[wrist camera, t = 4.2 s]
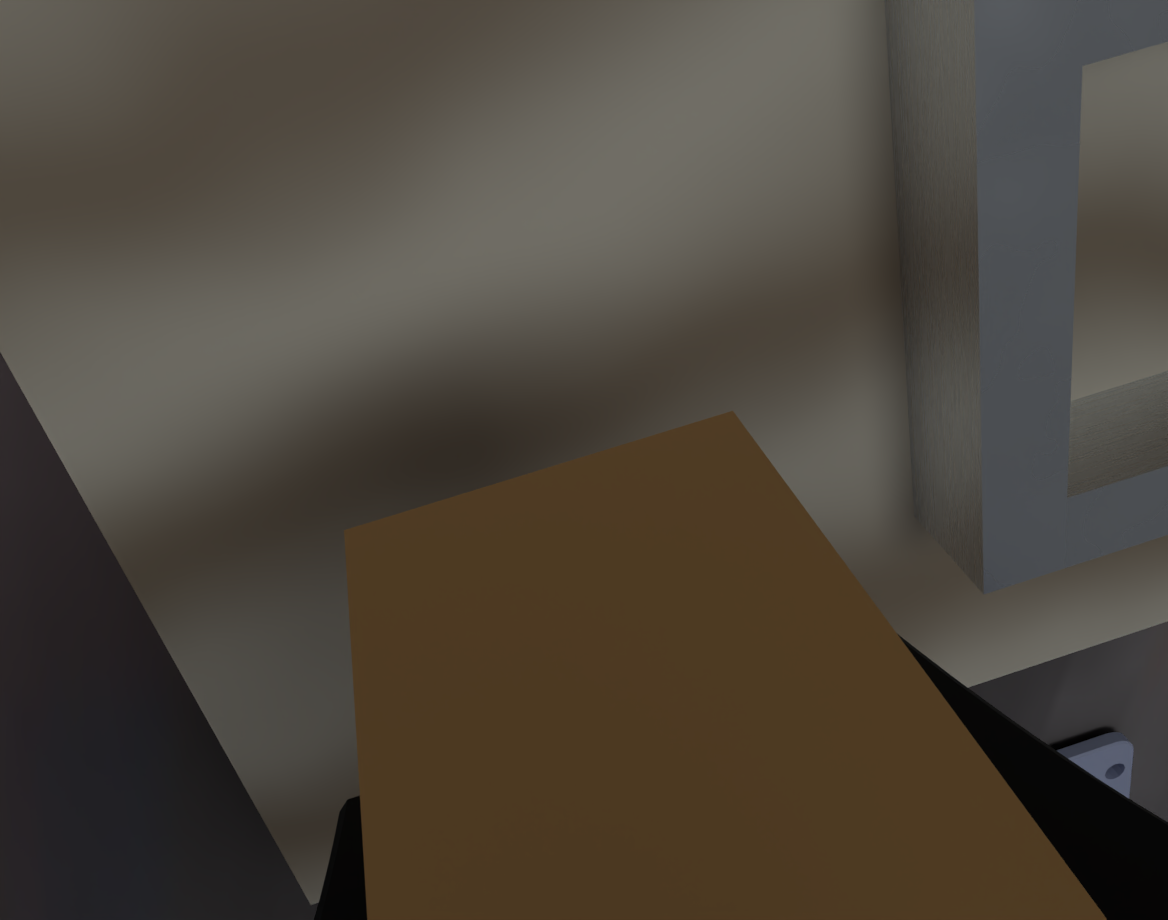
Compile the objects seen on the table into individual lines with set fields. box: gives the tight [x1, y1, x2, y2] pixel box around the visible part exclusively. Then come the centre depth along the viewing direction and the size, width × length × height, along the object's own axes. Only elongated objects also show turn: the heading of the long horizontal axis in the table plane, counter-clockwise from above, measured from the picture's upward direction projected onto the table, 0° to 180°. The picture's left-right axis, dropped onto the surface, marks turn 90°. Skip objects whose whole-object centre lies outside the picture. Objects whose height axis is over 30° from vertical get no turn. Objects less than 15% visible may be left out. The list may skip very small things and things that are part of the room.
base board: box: [0, 0, 1168, 905], centre depth 19 cm, size 18×32×1 cm, turn 102°
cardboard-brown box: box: [344, 411, 1107, 920], centre depth 10 cm, size 5×4×6 cm
